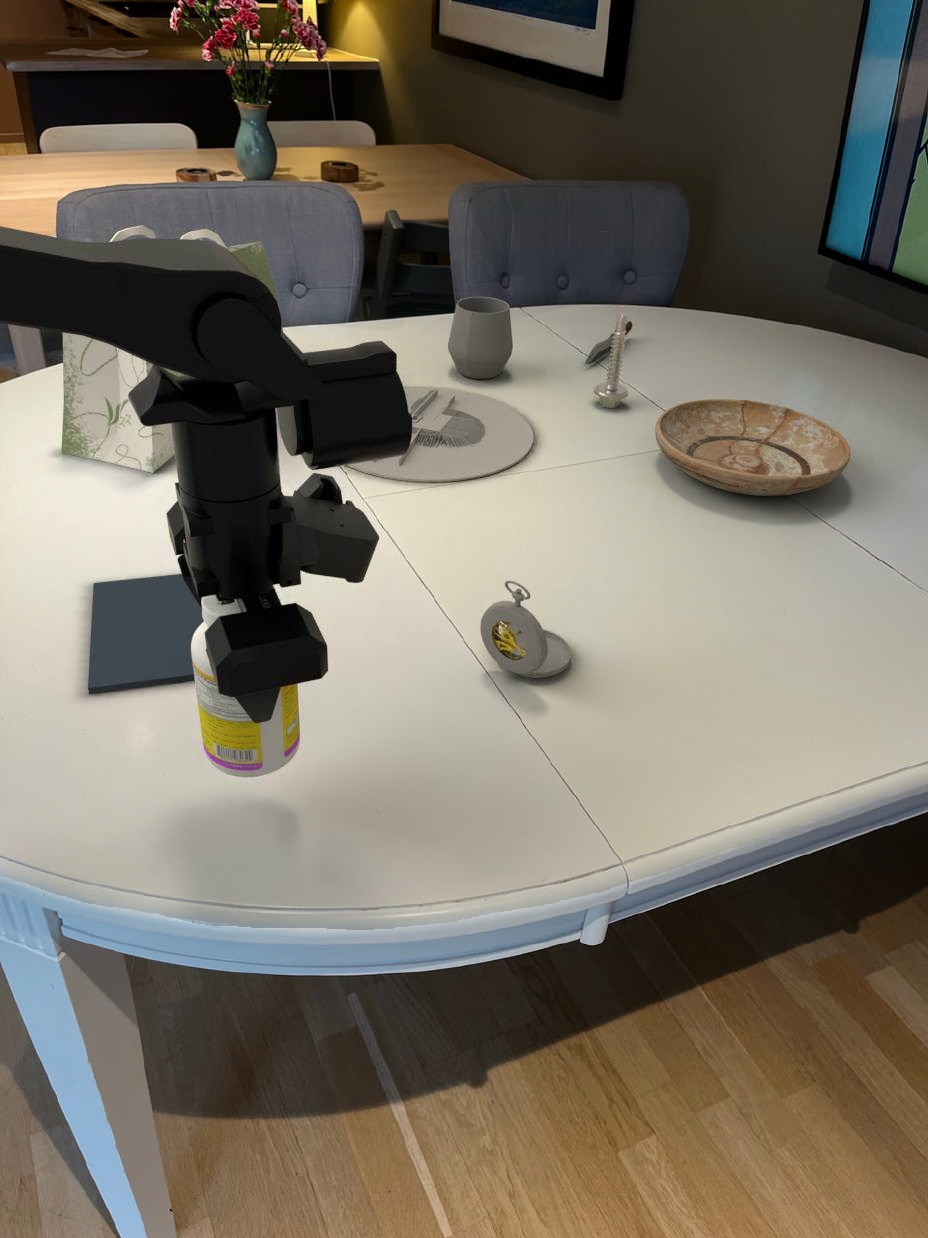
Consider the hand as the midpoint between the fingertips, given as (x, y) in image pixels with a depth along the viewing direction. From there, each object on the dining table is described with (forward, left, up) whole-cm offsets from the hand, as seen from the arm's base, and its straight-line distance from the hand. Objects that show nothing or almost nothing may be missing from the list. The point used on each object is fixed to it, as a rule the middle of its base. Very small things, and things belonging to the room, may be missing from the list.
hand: (250, 688), depth 64 cm
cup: (+49, +73, -11) cm, 89 cm away
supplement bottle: (0, 0, -6) cm, 6 cm away
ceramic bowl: (+68, +34, -11) cm, 77 cm away
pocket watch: (+25, +8, -11) cm, 29 cm away
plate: (+34, +56, -11) cm, 67 cm away
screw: (+62, +57, -11) cm, 85 cm away
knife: (+72, +75, -11) cm, 105 cm away
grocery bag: (+6, +70, -11) cm, 71 cm away
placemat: (-5, +24, -11) cm, 27 cm away
